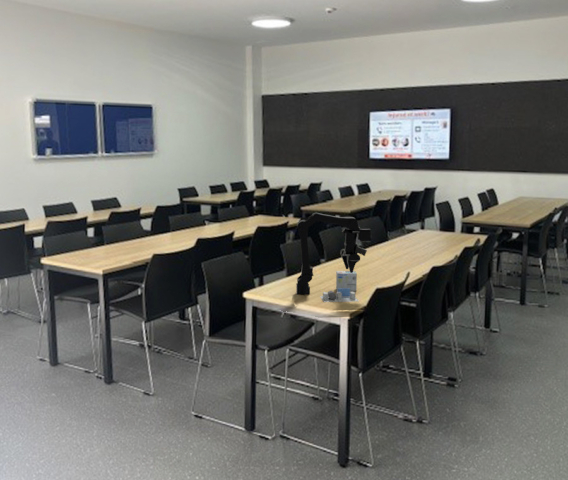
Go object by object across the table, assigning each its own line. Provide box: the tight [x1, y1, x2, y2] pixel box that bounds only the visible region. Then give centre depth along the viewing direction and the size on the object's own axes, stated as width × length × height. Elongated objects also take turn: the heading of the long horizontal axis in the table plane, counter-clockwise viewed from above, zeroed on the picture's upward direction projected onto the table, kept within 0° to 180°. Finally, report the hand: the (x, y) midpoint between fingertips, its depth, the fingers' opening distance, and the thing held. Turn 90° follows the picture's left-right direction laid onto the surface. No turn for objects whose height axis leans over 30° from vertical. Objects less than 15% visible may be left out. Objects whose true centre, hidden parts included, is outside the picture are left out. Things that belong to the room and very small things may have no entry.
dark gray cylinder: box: [327, 290, 337, 300], centre depth 304 cm, size 6×4×4 cm, turn 7°
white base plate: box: [319, 288, 359, 303], centre depth 305 cm, size 18×12×5 cm, turn 97°
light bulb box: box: [335, 270, 358, 292], centre depth 324 cm, size 11×7×11 cm, turn 92°
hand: (349, 270), depth 313 cm, fingers open, 9 cm apart
